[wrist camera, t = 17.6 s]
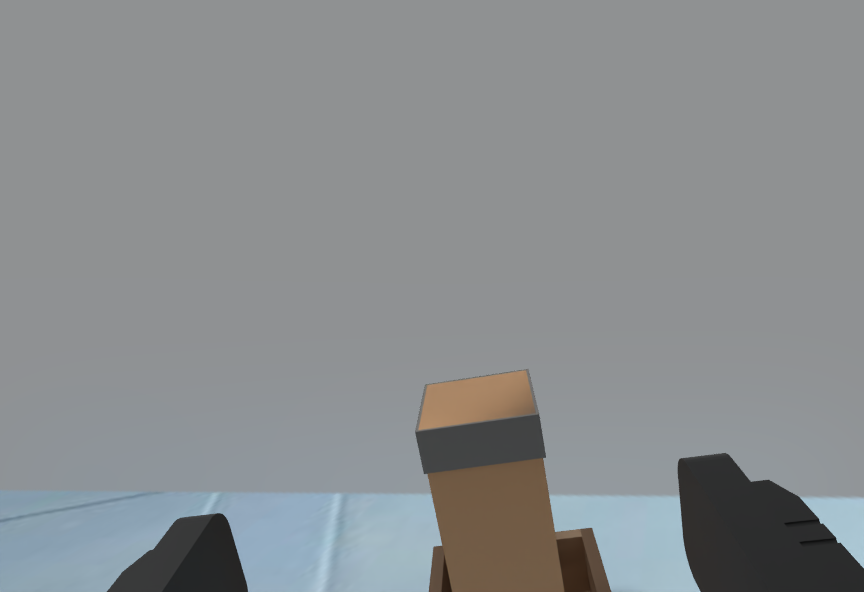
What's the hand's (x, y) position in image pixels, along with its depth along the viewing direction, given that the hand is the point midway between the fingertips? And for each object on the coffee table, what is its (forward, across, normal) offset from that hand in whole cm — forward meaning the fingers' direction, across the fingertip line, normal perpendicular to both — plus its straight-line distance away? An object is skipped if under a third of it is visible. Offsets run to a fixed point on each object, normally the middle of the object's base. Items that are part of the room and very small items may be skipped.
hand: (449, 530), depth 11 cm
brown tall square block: (+11, 0, +17) cm, 20 cm away
